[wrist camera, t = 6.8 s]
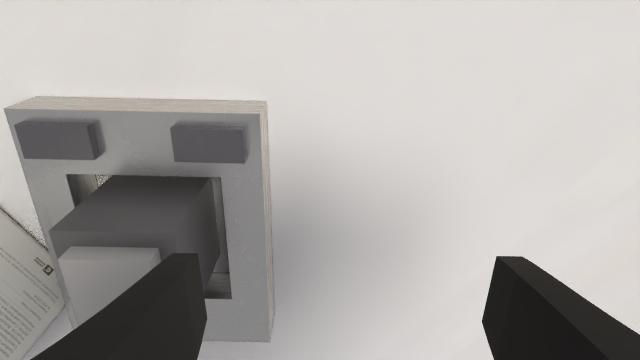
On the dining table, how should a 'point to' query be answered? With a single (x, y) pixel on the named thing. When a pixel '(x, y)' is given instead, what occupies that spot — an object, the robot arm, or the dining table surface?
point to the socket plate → (162, 160)
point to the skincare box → (24, 290)
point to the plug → (133, 235)
